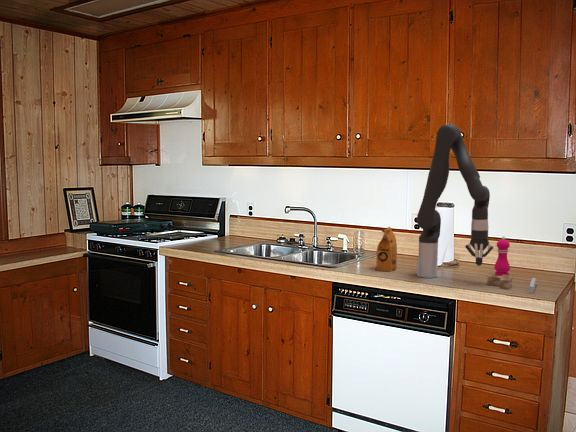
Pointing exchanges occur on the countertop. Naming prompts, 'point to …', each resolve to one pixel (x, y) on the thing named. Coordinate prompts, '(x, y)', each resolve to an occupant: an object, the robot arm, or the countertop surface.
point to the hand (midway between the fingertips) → (479, 265)
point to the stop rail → (532, 285)
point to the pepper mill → (502, 258)
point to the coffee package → (387, 252)
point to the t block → (500, 281)
